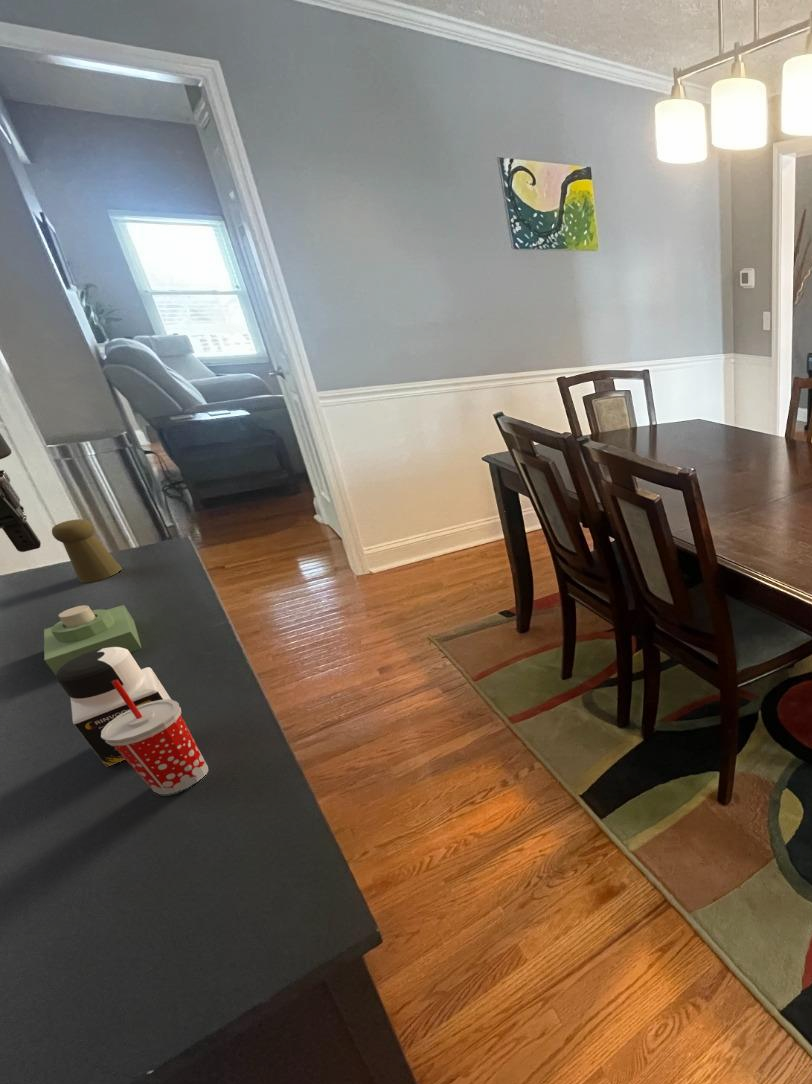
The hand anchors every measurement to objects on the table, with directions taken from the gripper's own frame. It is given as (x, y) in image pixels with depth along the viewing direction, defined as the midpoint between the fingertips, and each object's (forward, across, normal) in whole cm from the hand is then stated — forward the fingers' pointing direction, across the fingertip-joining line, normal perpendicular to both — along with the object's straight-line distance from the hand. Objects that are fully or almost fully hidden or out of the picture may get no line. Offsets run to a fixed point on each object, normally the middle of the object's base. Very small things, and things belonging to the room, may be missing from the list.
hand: (30, 548), depth 83 cm
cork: (+17, -34, +2) cm, 39 cm away
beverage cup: (+17, +45, +5) cm, 48 cm away
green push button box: (+17, 0, 0) cm, 17 cm away
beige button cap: (+12, 0, 0) cm, 12 cm away
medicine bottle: (+17, +32, +3) cm, 37 cm away
